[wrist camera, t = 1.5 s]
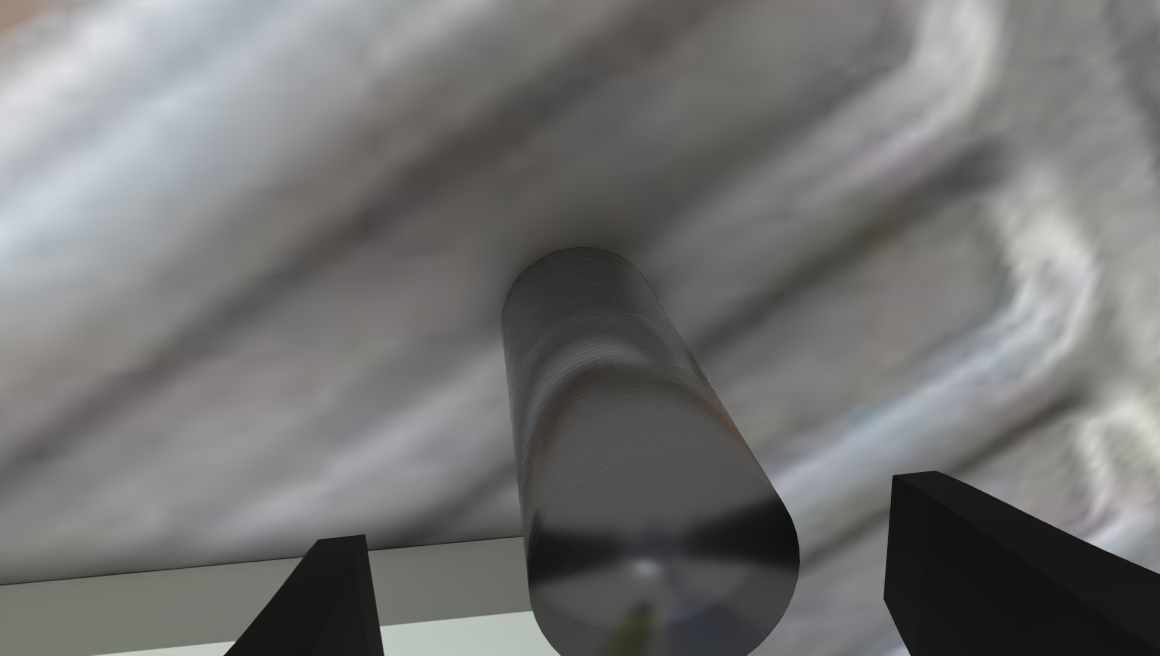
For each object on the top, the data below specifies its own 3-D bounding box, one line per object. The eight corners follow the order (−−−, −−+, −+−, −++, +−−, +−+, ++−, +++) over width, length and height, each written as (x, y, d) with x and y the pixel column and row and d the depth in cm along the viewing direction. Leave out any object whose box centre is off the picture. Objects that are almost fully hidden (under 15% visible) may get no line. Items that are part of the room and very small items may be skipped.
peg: (656, 242, 21) (806, 440, 12) (657, 388, 22) (794, 673, 13) (496, 252, 21) (520, 465, 12) (506, 401, 22) (536, 701, 13)
